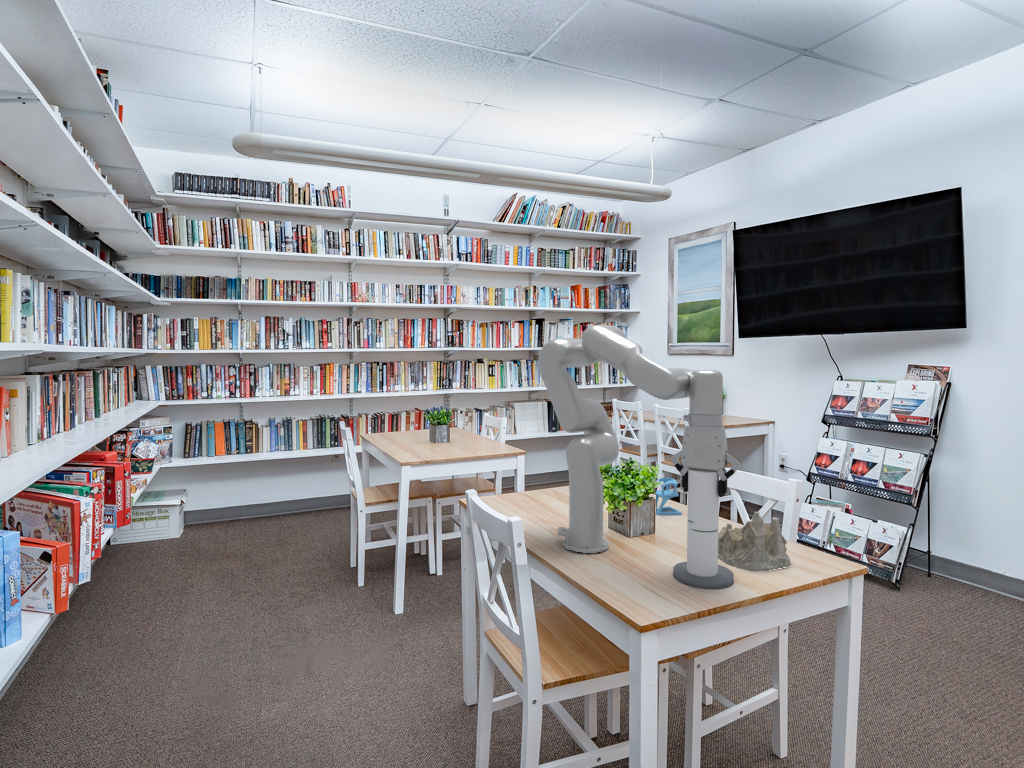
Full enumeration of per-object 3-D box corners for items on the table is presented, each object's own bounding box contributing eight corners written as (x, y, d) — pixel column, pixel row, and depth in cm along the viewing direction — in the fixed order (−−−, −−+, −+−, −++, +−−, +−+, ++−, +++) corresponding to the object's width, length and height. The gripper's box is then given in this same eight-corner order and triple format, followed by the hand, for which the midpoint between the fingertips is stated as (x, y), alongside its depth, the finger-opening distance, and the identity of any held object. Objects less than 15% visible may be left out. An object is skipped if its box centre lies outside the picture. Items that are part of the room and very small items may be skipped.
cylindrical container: (705, 564, 146) (706, 466, 145) (723, 574, 139) (725, 471, 138) (680, 567, 144) (682, 467, 143) (698, 578, 137) (700, 473, 136)
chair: (648, 511, 202) (648, 477, 201) (669, 509, 204) (669, 475, 204) (660, 517, 194) (660, 481, 194) (682, 514, 197) (682, 479, 196)
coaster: (664, 580, 140) (665, 574, 140) (683, 563, 151) (683, 557, 151) (724, 593, 132) (724, 587, 132) (739, 574, 143) (740, 568, 143)
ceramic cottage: (800, 567, 148) (797, 508, 148) (744, 576, 144) (741, 515, 144) (760, 551, 163) (757, 498, 163) (708, 558, 159) (705, 504, 159)
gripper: (664, 420, 141) (663, 491, 142) (739, 425, 132) (737, 502, 132) (675, 417, 148) (673, 485, 149) (747, 422, 138) (745, 495, 139)
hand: (703, 493), depth 141 cm, fingers open, 7 cm apart
